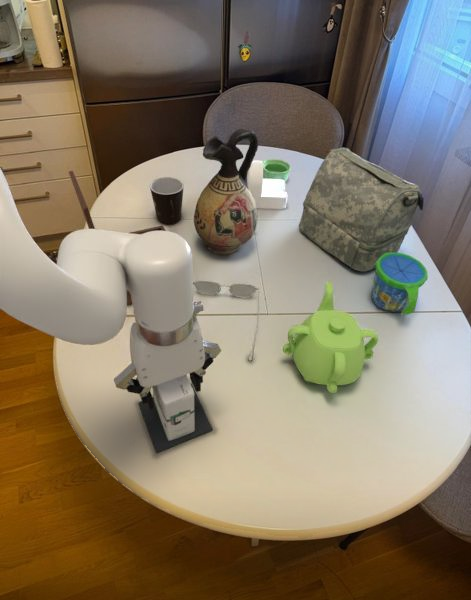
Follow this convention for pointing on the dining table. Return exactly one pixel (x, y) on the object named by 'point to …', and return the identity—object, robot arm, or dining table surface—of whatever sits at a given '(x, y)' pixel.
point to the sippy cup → (398, 282)
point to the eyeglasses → (235, 289)
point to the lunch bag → (358, 209)
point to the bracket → (266, 188)
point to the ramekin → (276, 169)
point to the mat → (159, 433)
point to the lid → (82, 201)
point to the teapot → (330, 345)
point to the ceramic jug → (227, 196)
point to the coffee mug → (167, 199)
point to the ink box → (175, 406)
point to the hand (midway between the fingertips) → (172, 392)
